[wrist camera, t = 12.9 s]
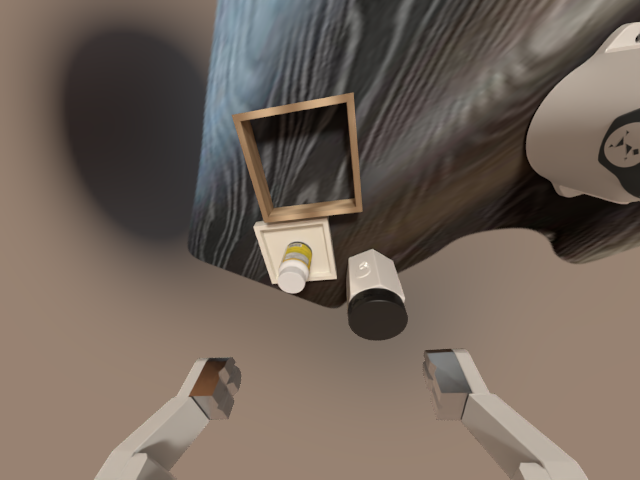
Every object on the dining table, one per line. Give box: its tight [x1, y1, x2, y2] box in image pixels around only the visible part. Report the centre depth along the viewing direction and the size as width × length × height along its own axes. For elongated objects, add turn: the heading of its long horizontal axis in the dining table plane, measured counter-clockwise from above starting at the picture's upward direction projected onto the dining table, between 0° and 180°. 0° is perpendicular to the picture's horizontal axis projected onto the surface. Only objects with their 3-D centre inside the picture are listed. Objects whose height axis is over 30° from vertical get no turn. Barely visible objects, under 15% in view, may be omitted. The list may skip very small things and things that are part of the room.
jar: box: [346, 249, 408, 340], centre depth 38 cm, size 9×8×12 cm
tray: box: [254, 216, 337, 284], centre depth 41 cm, size 12×12×2 cm
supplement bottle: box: [278, 241, 312, 293], centre depth 38 cm, size 5×5×8 cm
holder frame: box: [232, 93, 362, 223], centre depth 33 cm, size 15×15×4 cm
